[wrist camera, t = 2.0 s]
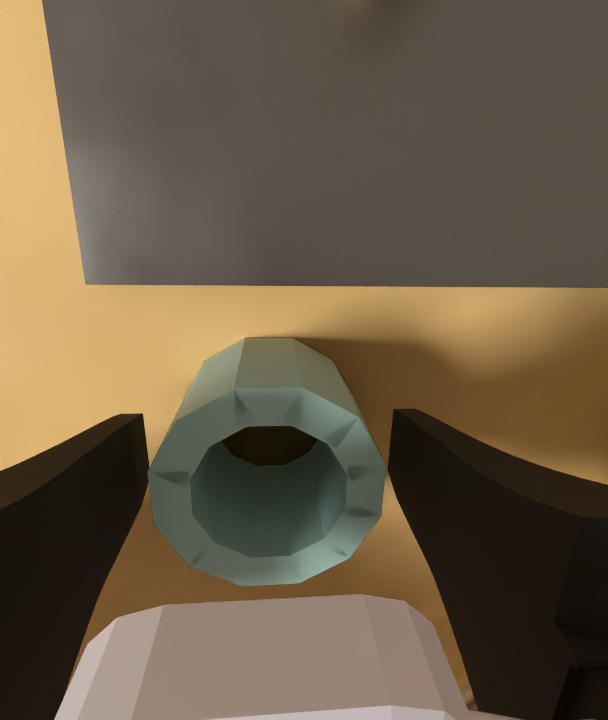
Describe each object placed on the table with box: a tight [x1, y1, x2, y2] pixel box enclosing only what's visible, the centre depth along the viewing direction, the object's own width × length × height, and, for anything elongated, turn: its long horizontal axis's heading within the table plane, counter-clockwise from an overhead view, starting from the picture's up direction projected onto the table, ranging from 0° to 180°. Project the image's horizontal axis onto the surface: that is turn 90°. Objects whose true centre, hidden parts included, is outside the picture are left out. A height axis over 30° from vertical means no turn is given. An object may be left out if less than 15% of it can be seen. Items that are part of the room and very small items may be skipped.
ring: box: [147, 338, 386, 586], centre depth 11 cm, size 5×5×4 cm
